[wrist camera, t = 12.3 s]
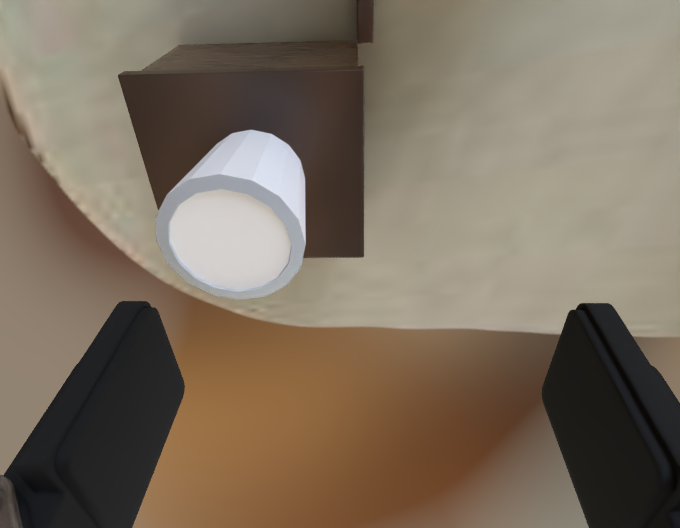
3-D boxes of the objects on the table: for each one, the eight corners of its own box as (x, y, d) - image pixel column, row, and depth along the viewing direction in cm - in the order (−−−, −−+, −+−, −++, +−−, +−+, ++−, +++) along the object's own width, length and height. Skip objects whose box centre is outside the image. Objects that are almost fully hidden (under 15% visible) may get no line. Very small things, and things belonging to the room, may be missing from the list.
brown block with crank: (377, -328, 21) (389, -461, 14) (370, 193, 37) (374, 257, 30) (90, -312, 22) (-42, -433, 14) (205, 195, 37) (169, 259, 30)
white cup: (314, 119, 24) (302, 176, 19) (317, 228, 28) (307, 303, 23) (185, 117, 25) (136, 174, 19) (207, 226, 29) (171, 300, 23)
